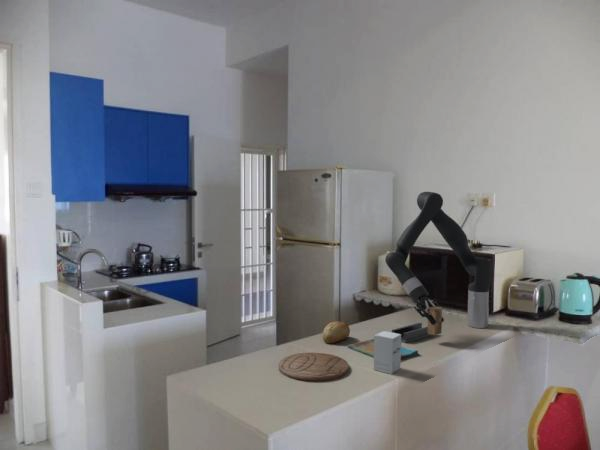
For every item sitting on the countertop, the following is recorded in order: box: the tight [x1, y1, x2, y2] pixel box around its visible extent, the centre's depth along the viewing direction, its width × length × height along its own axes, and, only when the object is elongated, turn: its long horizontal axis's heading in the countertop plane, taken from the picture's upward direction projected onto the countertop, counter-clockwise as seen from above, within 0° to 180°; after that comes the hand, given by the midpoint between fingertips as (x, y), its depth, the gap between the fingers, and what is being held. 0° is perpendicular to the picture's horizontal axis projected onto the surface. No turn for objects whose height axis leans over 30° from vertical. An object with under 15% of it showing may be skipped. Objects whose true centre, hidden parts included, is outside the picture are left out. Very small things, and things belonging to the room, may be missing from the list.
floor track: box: [391, 322, 432, 344], centre depth 207 cm, size 20×8×4 cm, turn 129°
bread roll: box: [322, 321, 351, 344], centre depth 201 cm, size 10×15×8 cm, turn 141°
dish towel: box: [347, 338, 420, 361], centre depth 187 cm, size 17×23×2 cm
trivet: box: [278, 352, 349, 383], centre depth 167 cm, size 25×25×2 cm
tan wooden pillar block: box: [427, 306, 443, 336], centre depth 198 cm, size 5×4×11 cm
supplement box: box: [373, 330, 402, 375], centre depth 167 cm, size 7×7×13 cm
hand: (438, 322), depth 197 cm, fingers closed on tan wooden pillar block, 5 cm apart
